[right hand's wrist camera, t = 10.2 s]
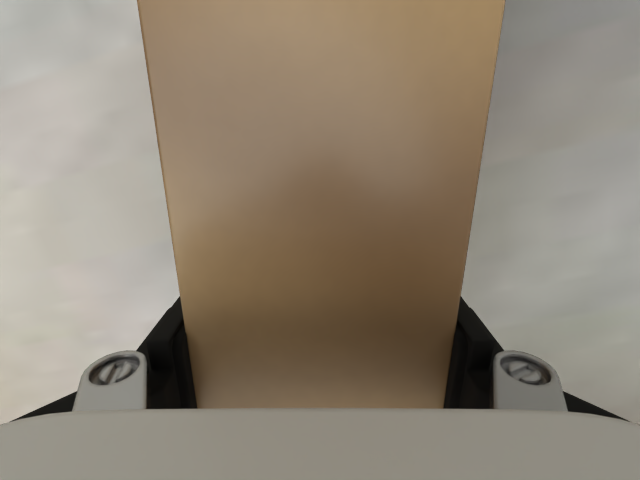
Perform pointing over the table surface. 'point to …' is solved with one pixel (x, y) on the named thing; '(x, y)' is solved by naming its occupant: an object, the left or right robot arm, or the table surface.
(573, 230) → the table surface
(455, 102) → the tan elongated box
